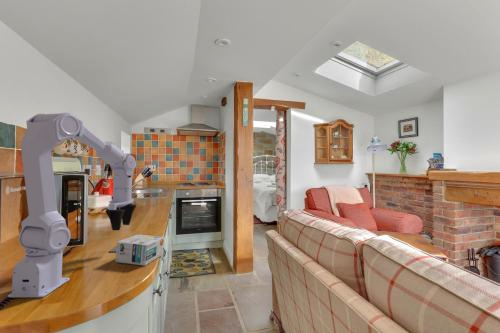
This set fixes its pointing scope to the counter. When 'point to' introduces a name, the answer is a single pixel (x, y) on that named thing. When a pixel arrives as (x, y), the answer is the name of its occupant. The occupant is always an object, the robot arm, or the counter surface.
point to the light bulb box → (139, 249)
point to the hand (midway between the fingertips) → (121, 227)
